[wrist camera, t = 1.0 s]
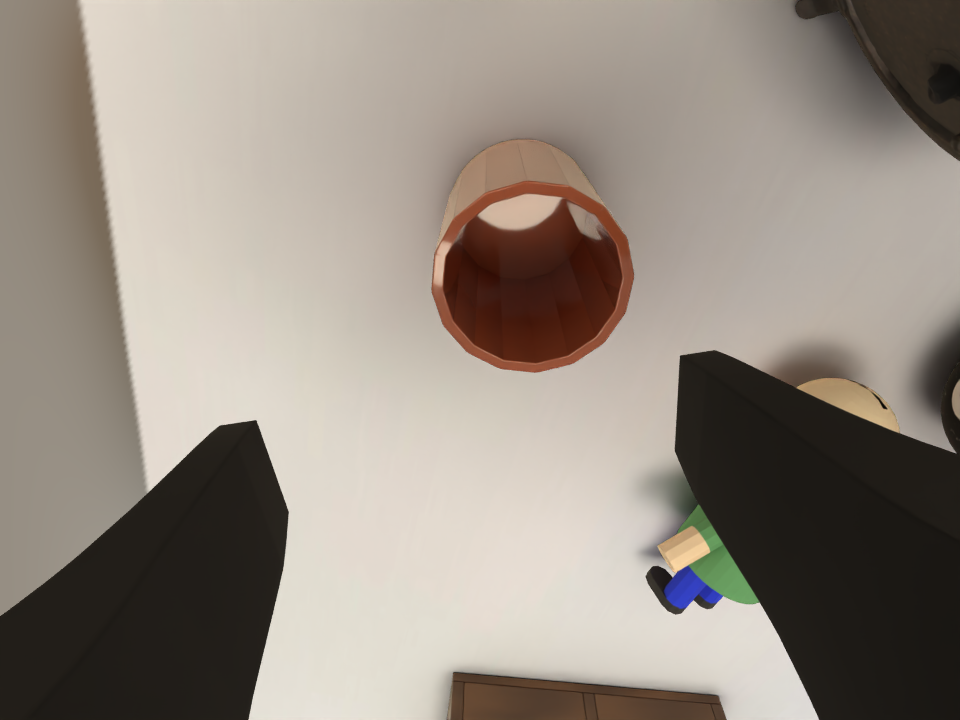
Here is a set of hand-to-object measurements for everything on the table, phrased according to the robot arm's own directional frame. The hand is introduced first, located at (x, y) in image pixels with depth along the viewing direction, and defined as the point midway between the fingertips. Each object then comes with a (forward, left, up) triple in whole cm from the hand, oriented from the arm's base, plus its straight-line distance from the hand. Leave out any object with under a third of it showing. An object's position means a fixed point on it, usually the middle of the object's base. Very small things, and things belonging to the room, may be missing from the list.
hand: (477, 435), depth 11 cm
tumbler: (-1, -1, -13) cm, 13 cm away
